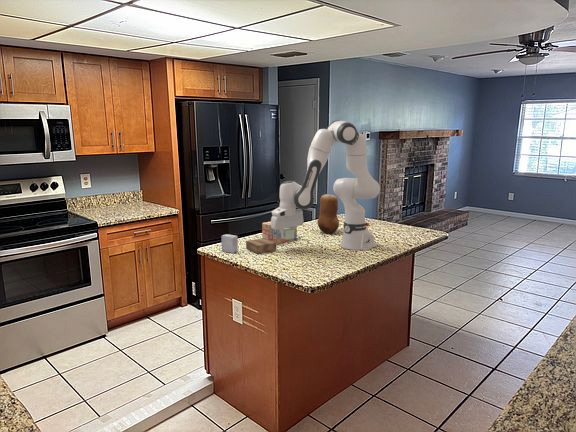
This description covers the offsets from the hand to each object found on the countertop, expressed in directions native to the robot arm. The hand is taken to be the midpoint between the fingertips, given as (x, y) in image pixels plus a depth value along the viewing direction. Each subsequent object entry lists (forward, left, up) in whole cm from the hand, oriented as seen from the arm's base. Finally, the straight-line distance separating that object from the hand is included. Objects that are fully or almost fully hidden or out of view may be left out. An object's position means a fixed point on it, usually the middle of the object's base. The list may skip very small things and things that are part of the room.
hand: (287, 235), depth 232 cm
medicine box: (+28, -15, -8) cm, 33 cm away
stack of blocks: (-7, -16, -8) cm, 19 cm away
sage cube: (0, 0, -2) cm, 2 cm away
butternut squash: (-45, -14, -8) cm, 48 cm away
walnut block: (+13, -7, -8) cm, 17 cm away
